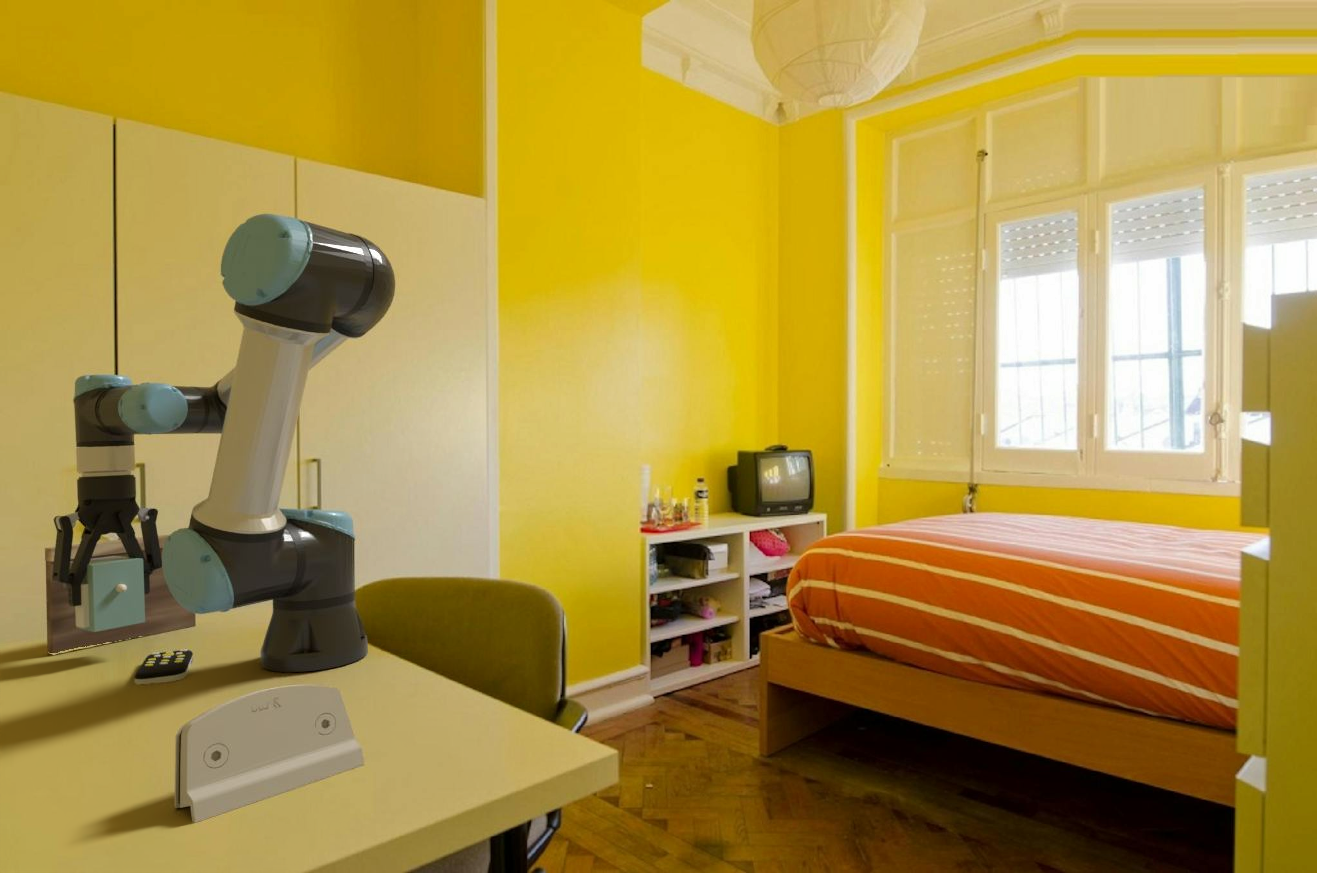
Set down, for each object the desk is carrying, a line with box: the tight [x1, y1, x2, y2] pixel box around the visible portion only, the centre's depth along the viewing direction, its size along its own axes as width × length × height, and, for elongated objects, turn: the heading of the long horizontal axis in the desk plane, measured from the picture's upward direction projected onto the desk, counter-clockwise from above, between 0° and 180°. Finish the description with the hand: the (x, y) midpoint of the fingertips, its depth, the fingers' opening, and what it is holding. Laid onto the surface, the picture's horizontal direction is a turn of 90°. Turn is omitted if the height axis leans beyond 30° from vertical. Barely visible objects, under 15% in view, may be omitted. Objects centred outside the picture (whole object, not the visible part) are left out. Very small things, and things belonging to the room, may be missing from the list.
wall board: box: [44, 533, 196, 653], centre depth 135 cm, size 2×22×17 cm, turn 148°
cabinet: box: [63, 556, 145, 632], centre depth 124 cm, size 11×7×10 cm, turn 58°
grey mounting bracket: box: [174, 684, 365, 824], centre depth 78 cm, size 17×5×10 cm, turn 138°
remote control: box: [134, 648, 194, 685], centre depth 116 cm, size 6×13×2 cm, turn 25°
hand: (111, 620), depth 123 cm, fingers closed on cabinet, 7 cm apart
